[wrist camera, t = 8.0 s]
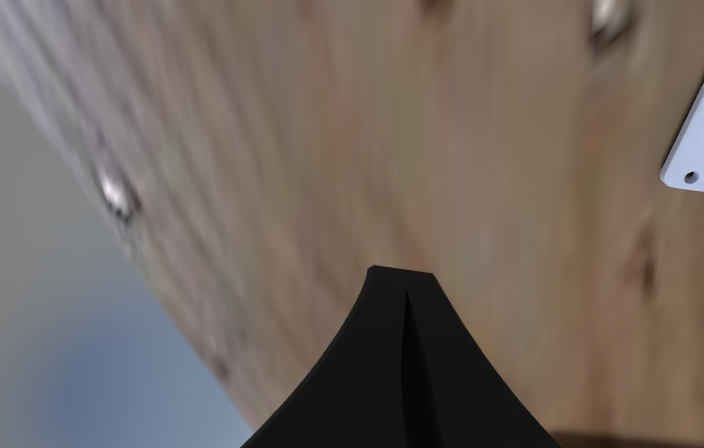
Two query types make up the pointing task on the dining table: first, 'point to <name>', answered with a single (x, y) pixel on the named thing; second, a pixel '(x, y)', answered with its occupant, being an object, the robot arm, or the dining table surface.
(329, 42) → the dining table surface
